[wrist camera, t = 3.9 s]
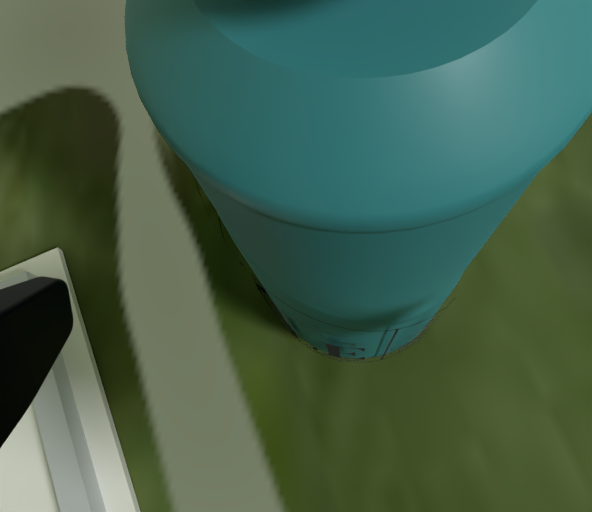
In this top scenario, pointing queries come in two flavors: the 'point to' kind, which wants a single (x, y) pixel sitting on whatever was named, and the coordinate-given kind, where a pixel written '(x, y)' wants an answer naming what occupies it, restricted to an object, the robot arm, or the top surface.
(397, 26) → the beverage bottle
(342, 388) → the top surface
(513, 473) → the top surface
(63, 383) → the white square tray
